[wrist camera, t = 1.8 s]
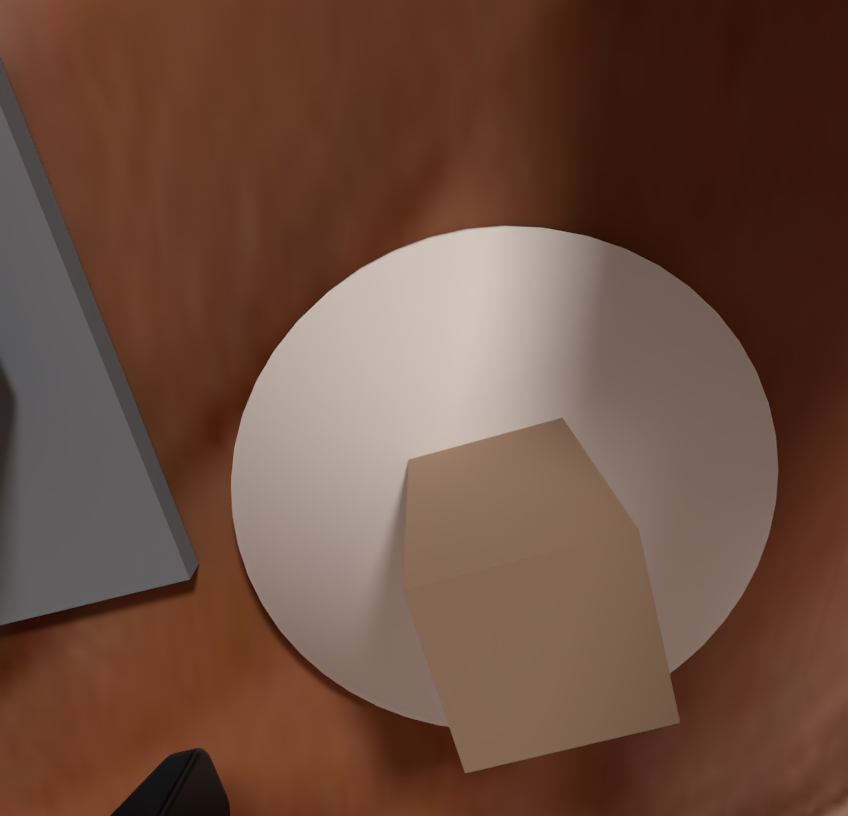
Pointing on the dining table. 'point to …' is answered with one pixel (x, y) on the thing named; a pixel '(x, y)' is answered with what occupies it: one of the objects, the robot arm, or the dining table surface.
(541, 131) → the dining table surface
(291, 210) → the dining table surface
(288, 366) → the lid
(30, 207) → the mat
